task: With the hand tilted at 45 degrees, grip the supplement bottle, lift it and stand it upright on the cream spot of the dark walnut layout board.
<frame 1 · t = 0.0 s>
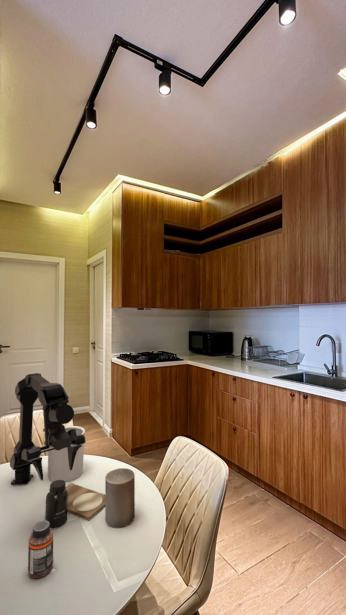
hand: (57, 475, 93), 15 cm above the table, tool pointing down, fingers open, 9 cm apart
layout board: (79, 501, 104), on the table
supplement bottle: (56, 522, 93), on the table
supplement bottle 2: (40, 570, 76), on the table
utensil holder: (65, 474, 122), on the table
pillar candle: (119, 518, 96), on the table
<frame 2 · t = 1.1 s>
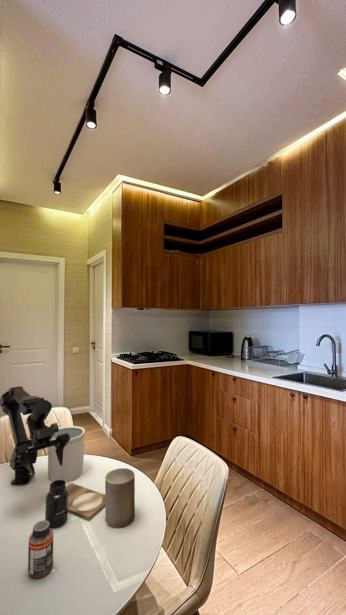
hand: (48, 470, 100), 13 cm above the table, tool tilted 45°, fingers open, 9 cm apart
nothing on the table moved.
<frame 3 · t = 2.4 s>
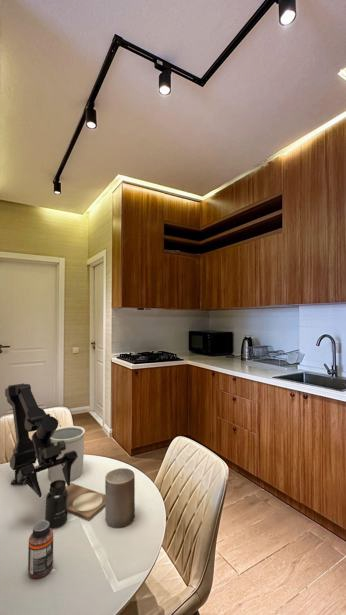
hand: (55, 491, 95), 9 cm above the table, tool tilted 45°, fingers open, 9 cm apart
nothing on the table moved.
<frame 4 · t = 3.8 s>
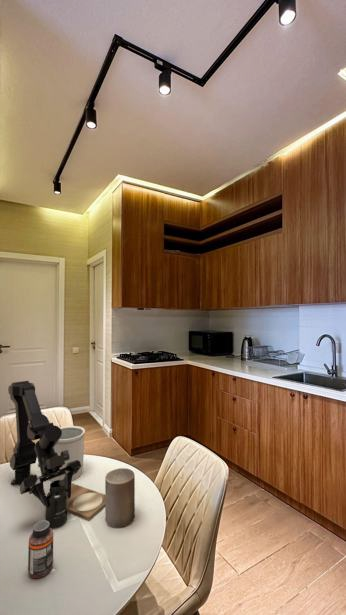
hand: (58, 502, 93), 7 cm above the table, tool tilted 45°, fingers closed on supplement bottle, 7 cm apart
supplement bottle: (56, 522, 93), on the table, touching gripper
everything else where it was.
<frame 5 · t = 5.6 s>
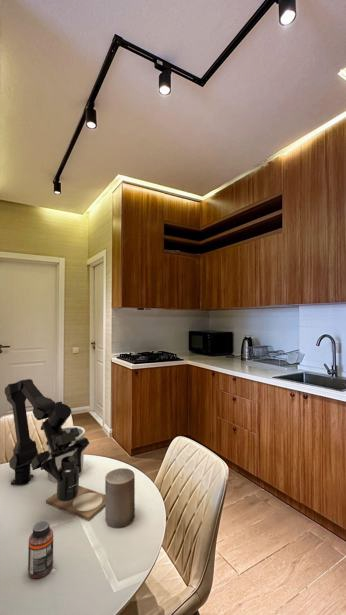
hand: (70, 476, 96), 13 cm above the table, tool tilted 45°, fingers closed on supplement bottle, 7 cm apart
supplement bottle: (67, 496, 96), point 6 cm above the table, touching gripper
everything else where it was.
when the fingers open (9 cm above the table, at t = 7.8 s): supplement bottle stays where it is, resting on layout board.
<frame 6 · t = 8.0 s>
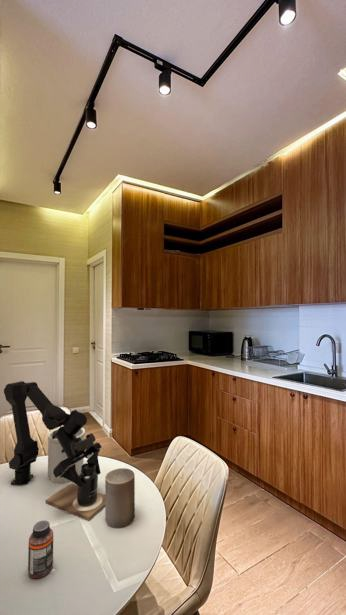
hand: (91, 479, 102), 9 cm above the table, tool tilted 45°, fingers open, 8 cm apart
supplement bottle: (87, 501, 102), point 1 cm above the table, touching layout board
everything else where it was.
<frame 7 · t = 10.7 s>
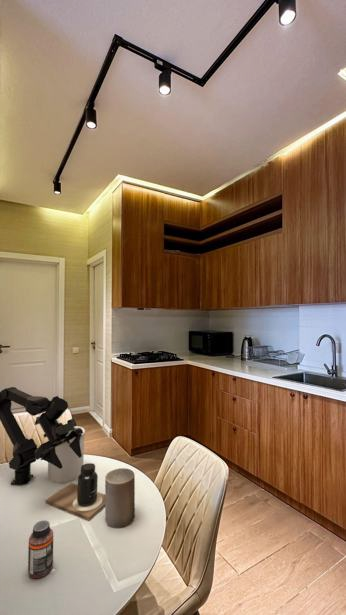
hand: (71, 462, 106), 13 cm above the table, tool tilted 45°, fingers open, 9 cm apart
nothing on the table moved.
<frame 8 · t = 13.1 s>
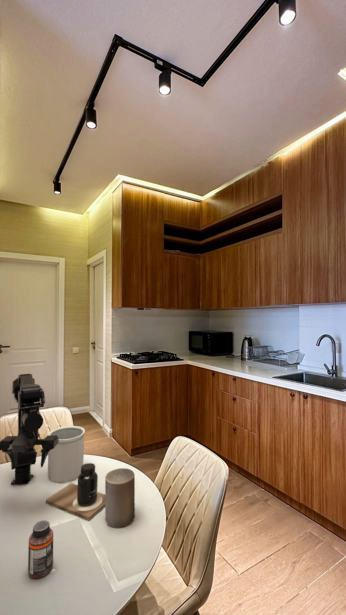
hand: (28, 467, 102), 13 cm above the table, tool pointing down, fingers open, 9 cm apart
nothing on the table moved.
at the end: supplement bottle 0.2 cm from the target spot, point 1.2 cm above the table; supplement bottle tilted 0°; the gripper is holding nothing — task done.
